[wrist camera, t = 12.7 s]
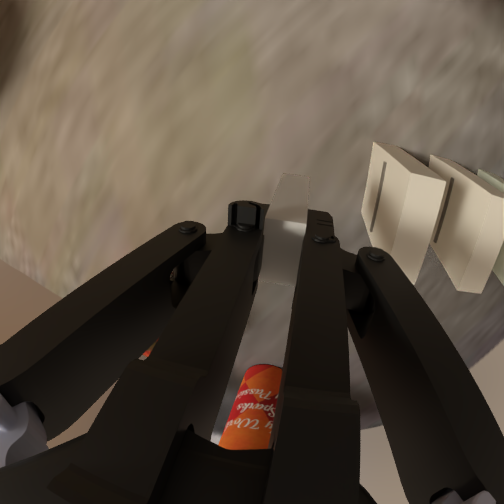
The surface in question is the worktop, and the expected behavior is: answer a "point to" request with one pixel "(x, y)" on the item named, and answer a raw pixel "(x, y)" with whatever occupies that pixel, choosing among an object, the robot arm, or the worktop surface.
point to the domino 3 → (503, 262)
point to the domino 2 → (467, 225)
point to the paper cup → (253, 409)
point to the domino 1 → (401, 206)
